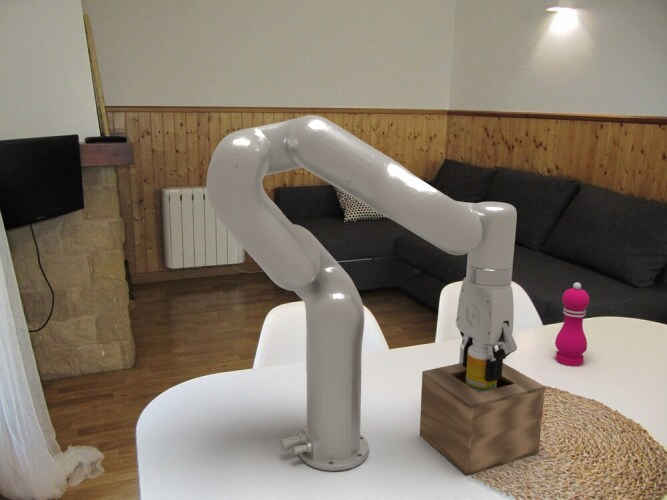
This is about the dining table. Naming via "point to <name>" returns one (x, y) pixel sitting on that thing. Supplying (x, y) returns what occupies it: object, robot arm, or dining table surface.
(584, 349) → the pepper mill
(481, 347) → the supplement bottle
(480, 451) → the drop box
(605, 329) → the dining table surface
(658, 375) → the dining table surface
